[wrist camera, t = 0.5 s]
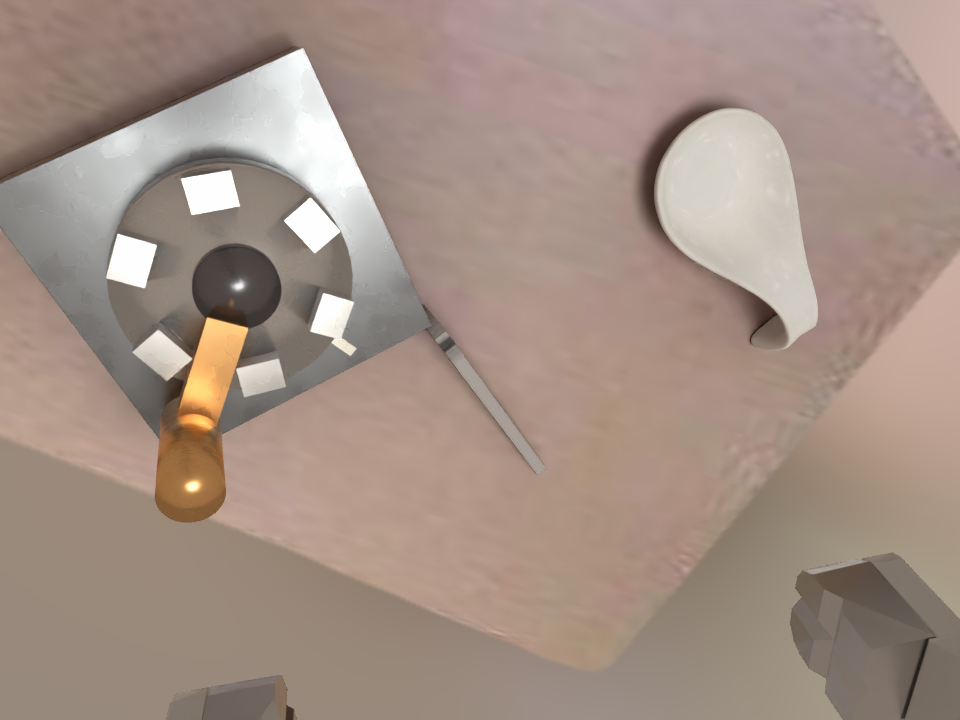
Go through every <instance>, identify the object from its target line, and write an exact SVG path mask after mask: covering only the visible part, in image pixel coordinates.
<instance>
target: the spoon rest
mask: <svg viewBox="0 0 960 720" xmlns="http://www.w3.org/2000/svg"><path fill="white" fill-rule="evenodd" d="M654 202H655V208H656V212H657V216H658V219H659V222H660V224H661V226H662V228H663V230H664V232H665V234H666V235H667V237H668V238H669V239H670V241H671V242H672V243H673V244H674V245H675V246H676V247H677V248H678V249H679V250H680V251H681V252H682V253H684V254H685V255H686V256H688V257H689V258H690V259H692V260H693V261H695V262H696V263H698V264H700V265H701V266H703V267H705V268H707V269H709V270H710V271H712V272H714V273H716V274H718V275H720V276H722V277H724V278H726V279H728V280H730V281H731V282H733V283H735V284H737V285H739V286H741V287H743V288H744V289H746V290H748V291H750V292H751V293H753V294H755V295H756V296H758V297H759V298H760V299H762V300H763V301H764V302H766V303H767V304H768V305H769V306H770V307H772V308H773V309H774V311H775V312H776V313H777V315H776V316H774V317H773V318H771V319H770V320H769V321H768V322H767V323H766V324H765V325H763V326H762V327H761V328H759V329H758V330H757V331H756V332H755V333H754V334H753V336H752V338H751V344H752V345H753V346H755V347H757V348H760V349H763V350H768V351H779V350H783V349H786V348H788V347H789V346H790V345H791V344H792V343H793V342H794V341H795V340H796V339H797V338H798V337H799V336H800V335H802V334H803V333H805V332H807V331H808V330H810V329H812V328H813V327H814V326H815V325H816V323H817V319H818V305H817V299H816V294H815V290H814V286H813V282H812V279H811V276H810V272H809V269H808V265H807V260H806V255H805V250H804V245H803V240H802V232H801V226H800V218H799V211H798V203H797V197H796V190H795V184H794V179H793V174H792V170H791V165H790V160H789V156H788V153H787V150H786V148H785V145H784V143H783V141H782V139H781V137H780V135H779V133H778V132H777V131H776V129H775V128H774V127H773V126H772V124H771V123H770V122H769V121H767V120H766V119H765V118H764V117H762V116H761V115H760V114H758V113H756V112H754V111H751V110H748V109H744V108H722V109H718V110H714V111H712V112H710V113H707V114H705V115H703V116H701V117H699V118H698V119H696V120H695V121H693V122H692V123H690V124H689V125H688V126H686V127H685V128H684V129H683V130H682V131H681V132H680V133H679V134H678V135H677V136H676V138H675V139H674V140H673V141H672V143H671V144H670V146H669V147H668V149H667V150H666V152H665V154H664V156H663V158H662V160H661V162H660V165H659V167H658V170H657V174H656V179H655V185H654Z"/></svg>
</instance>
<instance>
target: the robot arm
mask: <svg viewBox="0 0 960 720" xmlns="http://www.w3.org/2000/svg"><path fill="white" fill-rule="evenodd" d="M795 588H796V590H797V591H798V593H799V594H800V596H801V599H800V600H799V601H798V602H797V603H796V604H795V605H794V607H793V608H792V612H791V620H790V625H791V630H792V635H793V639H794V642H795V645H796V647H797V649H798V651H799V654H800V655H801V657H802V659H803V660H804V661H805V663H806V665H807V666H808V668H809V669H811V670H813V671H814V672H816V673H818V674H819V675H821V676H823V677H824V678H826V686H825V694H826V695H827V697H828V698H829V700H830V701H831V703H832V704H833V706H834V707H835V709H836V710H837V712H838V713H839V715H840V716H841V718H842V719H843V720H960V619H959V618H958V617H957V616H956V615H955V614H954V613H953V611H952V610H951V609H950V608H949V607H948V606H947V605H946V604H945V603H944V602H943V601H942V600H941V599H940V598H939V597H938V596H937V595H936V594H935V592H934V591H933V590H932V589H931V588H930V587H929V586H928V585H927V584H926V583H925V582H924V581H923V580H922V579H921V578H920V577H919V576H918V575H917V574H916V572H915V571H914V570H913V569H912V568H911V567H910V566H909V565H908V564H907V563H906V562H905V561H904V560H903V559H902V558H901V557H900V556H898V555H896V554H894V553H888V554H883V555H877V556H872V557H867V558H863V559H855V560H850V561H845V562H840V563H835V564H831V565H826V566H821V567H817V568H812V569H807V570H802V572H801V573H800V574H799V575H798V576H797V581H796V587H795ZM286 703H287V687H286V684H285V682H284V679H283V676H282V675H276V676H270V677H264V678H258V679H253V680H247V681H241V682H235V683H229V684H224V685H217V686H211V687H207V688H202V689H196V690H191V691H185V692H180V693H176V694H175V696H174V698H173V699H172V701H171V703H170V705H169V709H168V713H167V718H166V720H297V717H296V714H295V711H294V709H293V708H291V707H289V706H288V705H286Z"/></svg>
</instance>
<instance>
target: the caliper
mask: <svg viewBox="0 0 960 720" xmlns="http://www.w3.org/2000/svg"><path fill="white" fill-rule="evenodd" d="M423 308H424V310H425V313H426V315H427V317H428V319H429V321H430V323H431V326H430V327H428V328H426V329H427V331H428V332H429V333H430V335H431V336H432V337H433V339H434V340H435V341H436V342H437V344H438V345H439V346H440V348H441V349H442V350H443V351H444V353H445V354H446V355H447V357H448V358H449V359H450V361H451V362H452V363H453V365H454V366H455V367H456V369H457V370H458V371H459V372H460V374H461V375H462V376H463V378H464V379H465V380H466V382H467V383H468V384H469V386H470V387H471V388H472V390H473V391H474V392H475V393H476V395H477V396H478V397H479V399H480V400H481V401H482V403H483V404H484V405H485V407H486V408H487V409H488V411H489V412H490V413H491V415H492V416H493V417H494V419H495V420H496V421H497V423H498V424H499V425H500V426H501V428H502V429H503V430H504V432H505V433H506V434H507V436H508V437H509V438H510V440H511V441H512V442H513V444H514V445H515V446H516V448H517V449H518V450H519V452H520V453H521V454H522V456H523V457H524V458H525V459H526V461H527V462H528V463H529V465H530V466H531V467H532V469H533V470H534V471H535V473H536V474H537V475H539V474H540V473H542V472H543V471H544V470H546V468H545V466H544V465H543V463H542V462H541V461H540V459H539V458H538V457H537V455H536V454H535V452H534V451H533V450H532V448H531V447H530V446H529V444H528V443H527V442H526V440H525V439H524V437H523V436H522V435H521V433H520V432H519V431H518V429H517V428H516V427H515V425H514V424H513V422H512V421H511V420H510V418H509V417H508V416H507V414H506V413H505V412H504V410H503V409H502V407H501V406H500V405H499V403H498V402H497V401H496V399H495V398H494V397H493V395H492V394H491V393H490V391H489V390H488V388H487V387H486V385H485V384H484V383H483V381H482V380H481V379H480V377H479V376H478V374H477V373H476V372H475V370H474V369H473V368H472V366H471V365H470V364H469V362H468V361H467V359H466V358H465V357H464V355H463V353H462V352H461V351H460V349H459V348H458V347H457V345H456V344H455V342H454V341H453V340H452V339H451V338H450V336H449V335H448V334H447V332H446V331H445V330H444V328H443V327H442V326H441V325H440V324H439V322H438V321H437V320H436V319H435V317H434V316H433V315H432V314H431V313H430V312H429V310H428V309H427V308H426V307H425V306H423Z"/></svg>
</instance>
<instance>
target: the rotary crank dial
mask: <svg viewBox="0 0 960 720" xmlns="http://www.w3.org/2000/svg"><path fill="white" fill-rule="evenodd" d="M106 278H107V287H108V295H109V299H110V302H111V306H112V310H113V312H114V315H115V317H116V319H117V321H118V324H119V326H120V327H121V329H122V330H123V332H124V334H125V335H126V337H127V338H128V340H129V341H130V342H131V343H132V344H133V350H132V353H134V354H135V355H136V356H137V357H138V358H140V359H141V360H142V361H143V362H145V363H146V364H147V365H148V366H149V367H151V368H152V369H153V370H154V371H156V372H157V373H158V374H159V375H160V376H162V377H163V378H164V379H165V380H167V381H168V380H169V379H170V378H171V377H172V376H173V377H175V378H178V379H180V380H183V381H184V384H183V387H182V391H181V394H180V397H177V398H175V399H174V400H172V401H171V402H169V403H168V404H167V405H166V407H165V408H164V410H163V412H162V414H161V422H160V436H159V449H158V462H157V475H156V489H155V501H156V504H157V506H158V508H159V510H160V511H161V512H162V513H163V514H164V515H165V516H167V517H168V518H170V519H172V520H175V521H179V522H197V521H200V520H204V519H206V518H208V517H210V516H212V515H213V514H214V513H216V512H217V511H218V510H219V508H220V507H221V506H222V504H223V502H224V500H225V496H226V487H225V474H224V461H223V448H222V436H221V423H220V414H221V411H222V408H223V405H224V402H225V399H226V396H227V393H228V390H242V392H243V395H244V397H248V396H252V395H256V394H260V393H264V392H268V391H272V390H276V389H280V388H284V387H286V384H285V380H284V379H286V378H288V377H291V376H293V375H294V374H296V373H298V372H299V371H301V370H303V369H304V368H306V367H307V366H308V365H310V364H311V363H312V362H314V361H315V360H316V359H317V358H318V357H319V356H320V355H321V354H322V353H323V352H324V351H325V350H326V349H327V348H328V346H329V345H330V344H331V343H332V341H333V340H334V339H335V338H336V339H340V340H341V337H342V335H343V332H344V329H345V326H346V324H347V321H348V318H349V315H350V313H351V310H352V307H353V304H354V301H353V299H352V297H351V295H352V287H353V273H352V265H351V259H350V255H349V251H348V247H347V245H346V242H345V240H344V237H343V235H342V233H341V231H340V229H339V228H338V226H337V224H336V222H335V221H334V219H333V218H332V217H331V215H330V214H329V213H328V211H327V210H326V209H325V207H324V206H323V205H322V204H321V202H320V201H319V200H318V198H317V197H316V196H315V195H314V194H313V193H312V192H311V191H310V190H309V189H308V188H307V187H305V186H304V185H303V184H301V183H300V182H299V181H297V180H296V179H295V178H293V177H291V176H290V175H288V174H286V173H285V172H283V171H281V170H279V169H276V168H274V167H272V166H269V165H267V164H263V163H260V162H256V161H253V160H247V159H241V158H226V157H218V158H208V159H202V160H197V161H193V162H189V163H186V164H183V165H181V166H178V167H176V168H173V169H171V170H169V171H168V172H166V173H164V174H162V175H160V176H159V177H157V178H156V179H155V180H153V181H152V182H151V183H149V184H148V185H147V186H146V187H145V188H144V189H143V190H142V191H141V192H140V193H139V194H138V195H137V196H136V197H135V198H134V200H133V201H132V202H131V204H130V205H129V206H128V208H127V209H126V211H125V213H124V215H123V217H122V219H121V220H120V222H119V225H118V228H117V231H116V233H115V236H114V239H113V242H112V245H111V248H110V252H109V257H108V263H107V276H106Z"/></svg>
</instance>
